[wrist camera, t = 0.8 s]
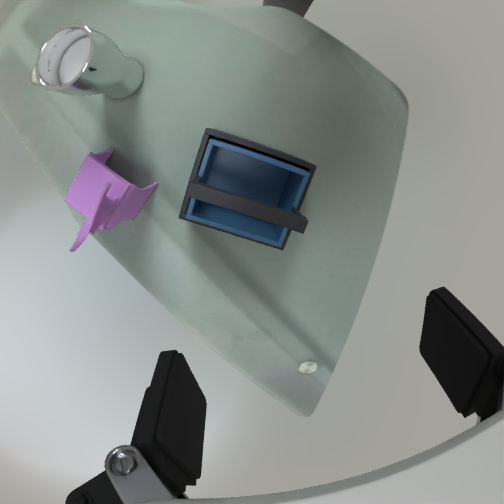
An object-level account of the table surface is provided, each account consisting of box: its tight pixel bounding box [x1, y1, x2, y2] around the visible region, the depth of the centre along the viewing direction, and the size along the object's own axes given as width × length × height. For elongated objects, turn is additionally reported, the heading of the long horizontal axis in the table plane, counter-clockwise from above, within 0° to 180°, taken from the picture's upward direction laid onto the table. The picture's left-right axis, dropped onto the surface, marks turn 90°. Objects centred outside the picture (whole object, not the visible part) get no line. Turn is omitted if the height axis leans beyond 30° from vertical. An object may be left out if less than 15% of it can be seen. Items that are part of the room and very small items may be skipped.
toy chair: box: [64, 149, 158, 252], centre depth 29 cm, size 8×9×15 cm
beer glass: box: [36, 24, 144, 99], centre depth 23 cm, size 7×7×15 cm
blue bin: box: [185, 138, 310, 248], centre depth 30 cm, size 8×10×13 cm
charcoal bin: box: [179, 128, 317, 250], centre depth 34 cm, size 10×12×7 cm
